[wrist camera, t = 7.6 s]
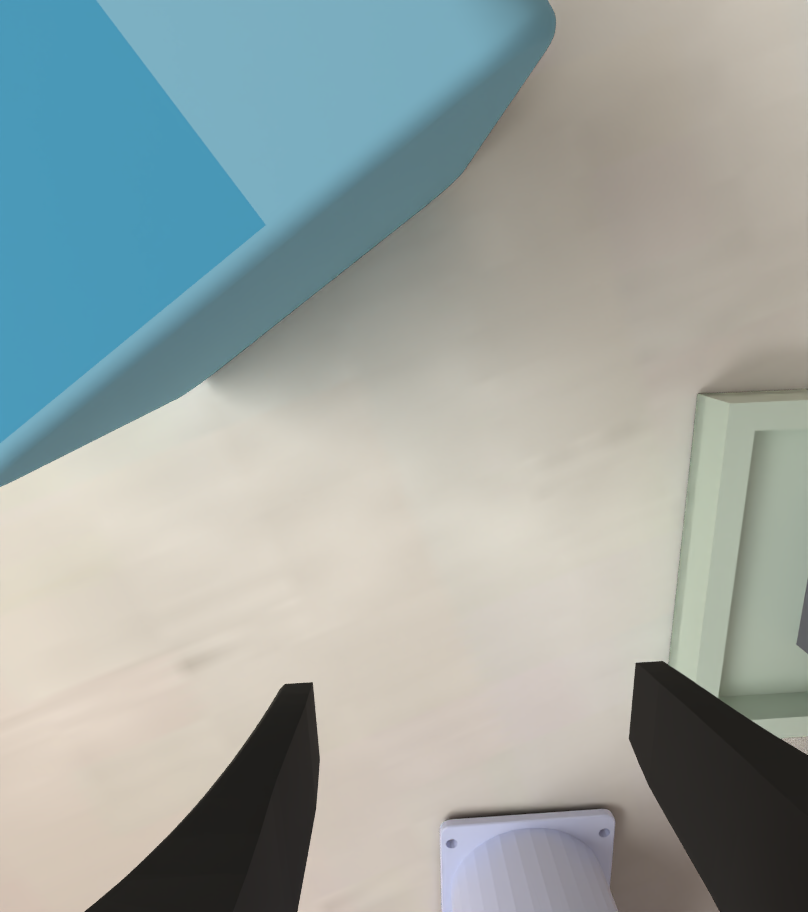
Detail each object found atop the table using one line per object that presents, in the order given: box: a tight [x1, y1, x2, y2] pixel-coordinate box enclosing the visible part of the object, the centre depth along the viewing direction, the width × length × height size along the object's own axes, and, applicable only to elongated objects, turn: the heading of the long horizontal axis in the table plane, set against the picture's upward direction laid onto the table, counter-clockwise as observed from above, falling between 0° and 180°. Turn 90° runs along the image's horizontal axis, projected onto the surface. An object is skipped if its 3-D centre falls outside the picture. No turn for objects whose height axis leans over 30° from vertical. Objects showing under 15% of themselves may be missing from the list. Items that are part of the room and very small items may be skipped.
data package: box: [0, 0, 556, 487], centre depth 13 cm, size 12×4×12 cm, turn 127°
